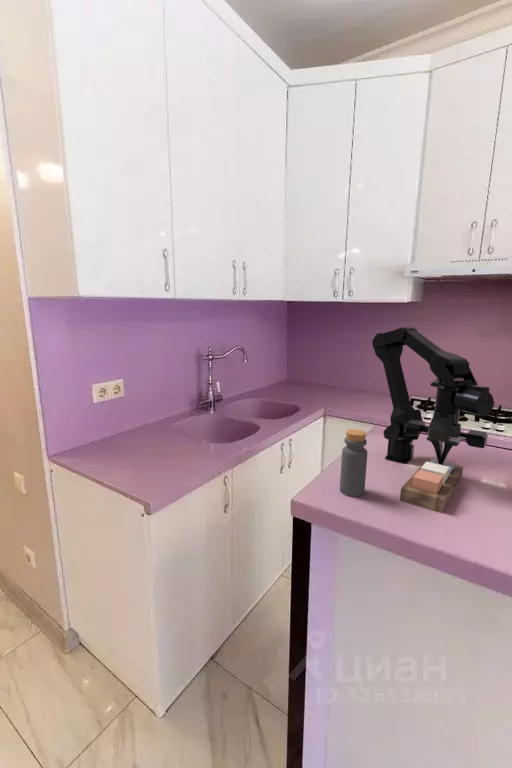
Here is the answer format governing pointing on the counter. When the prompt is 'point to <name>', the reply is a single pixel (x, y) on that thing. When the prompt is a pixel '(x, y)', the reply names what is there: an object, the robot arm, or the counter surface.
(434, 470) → the button cream
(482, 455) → the counter surface
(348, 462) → the bottle
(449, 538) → the counter surface
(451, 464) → the button slate
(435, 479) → the button terracotta
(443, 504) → the wooden compartment tray
